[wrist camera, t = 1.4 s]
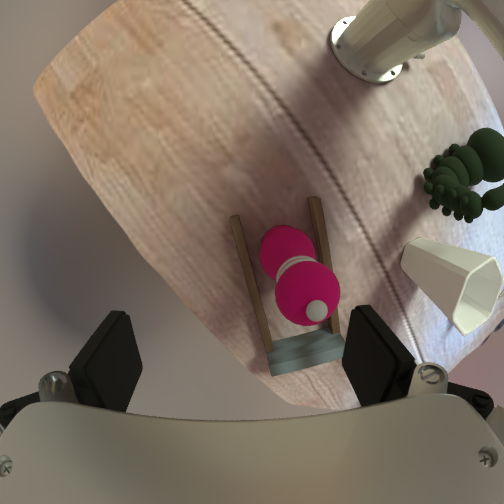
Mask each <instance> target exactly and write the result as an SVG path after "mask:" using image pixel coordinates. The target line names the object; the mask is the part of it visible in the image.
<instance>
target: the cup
mask: <svg viewBox="0 0 504 504" xmlns="http://www.w3.org/2000/svg"><path fill="white" fill-rule="evenodd" d="M400 264H401V268H402V270H403V271H404V272H405V273H406V274H407V275H408V276H409V277H410V278H411V279H412V280H413V281H414V282H415V283H416V284H417V285H418V286H419V288H420V289H421V290H422V291H423V292H424V293H425V294H426V295H427V296H428V297H429V298H430V299H431V300H432V301H433V302H434V303H435V305H436V306H437V307H438V308H439V309H440V310H441V311H442V312H443V313H444V315H445V316H446V317H447V318H448V319H449V320H450V321H451V323H452V324H453V325H454V326H455V327H456V328H457V330H458V331H459V332H460V333H461V334H462V335H463V336H464V335H468V334H469V333H471V332H472V331H473V330H475V329H476V328H477V327H479V326H480V325H481V324H482V323H484V322H485V321H486V320H487V319H488V318H489V317H490V316H491V314H492V312H493V309H494V307H495V304H496V302H497V299H498V296H499V294H500V291H501V288H502V285H503V275H502V273H501V270H500V267H499V265H498V262H497V260H496V258H495V257H492V256H489V255H486V254H482V253H479V252H475V251H471V250H468V249H464V248H461V247H457V246H453V245H449V244H446V243H442V242H438V241H434V240H430V239H426V238H422V237H420V238H417V239H415V240H413V241H411V242H409V243H408V244H407V245H406V246H405V248H404V252H403V256H402V259H401V263H400Z"/></svg>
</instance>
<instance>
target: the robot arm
mask: <svg viewBox="0 0 504 504" xmlns="http://www.w3.org/2000/svg"><path fill="white" fill-rule="evenodd" d="M462 10H463V11H464V12H465V13H466V14H467V15H468V16H469V17H470V18H471V19H472V20H473V21H474V22H475V23H476V25H477V26H478V27H479V28H480V29H481V31H482V32H483V33H484V34H485V36H486V37H487V38H488V39H489V41H490V42H491V43H492V45H493V46H494V47H495V49H496V50H497V52H498V53H499V54H500V56H501V57H502V58H503V60H504V0H370V1H369V2H368V3H367V4H366V5H365V6H364V7H363V9H362V10H361V11H360V12H359V13H358V14H357V15H356V16H355V17H347V18H344V19H342V20H340V21H339V22H337V23H336V24H335V26H334V27H333V29H332V31H331V35H330V42H331V47H332V50H333V52H334V54H335V56H336V57H337V59H338V60H339V62H340V63H341V64H342V65H343V66H344V67H345V68H346V69H347V70H348V71H350V72H351V73H352V74H354V75H355V76H357V77H359V78H361V79H363V80H365V81H369V82H372V83H385V82H388V81H391V80H392V79H394V78H396V77H397V76H398V75H399V73H400V71H401V69H402V65H403V62H405V61H407V60H409V59H411V58H416V59H424V57H425V54H424V51H426V50H428V49H430V48H432V47H434V46H436V45H438V44H440V43H443V42H444V41H447V40H449V39H450V38H452V37H453V36H454V35H455V34H456V33H457V31H458V30H459V27H460V24H461V17H462ZM414 361H415V358H414V357H413V356H412V355H411V353H410V352H409V351H408V350H407V348H406V347H405V346H404V345H403V344H402V342H401V341H400V340H399V339H398V337H397V336H396V335H395V334H394V333H393V332H392V330H391V329H390V328H389V327H388V326H387V324H386V323H385V322H384V321H383V320H382V319H381V317H380V316H379V315H378V314H377V313H376V312H375V310H374V309H373V308H372V307H371V306H370V305H359V306H356V307H355V309H353V310H352V311H351V315H350V321H349V327H348V332H347V337H346V342H345V347H344V352H343V357H342V366H343V368H344V370H345V372H346V374H347V377H348V379H349V381H350V383H351V385H352V387H353V389H354V391H355V393H356V396H357V398H358V400H359V402H360V404H361V406H362V407H359V408H354V409H348V410H343V411H337V412H331V413H325V414H317V415H310V416H301V417H291V418H279V419H264V420H240V421H239V420H235V421H233V420H230V421H227V420H223V421H220V420H192V419H177V418H164V417H156V416H147V415H140V414H133V413H126V410H127V407H128V405H129V402H130V399H131V397H132V395H133V392H134V390H135V387H136V384H137V382H138V380H139V377H140V375H141V372H142V361H141V358H140V354H139V351H138V347H137V344H136V340H135V336H134V332H133V328H132V324H131V320H130V317H129V315H126V313H125V312H124V311H111V312H110V313H109V314H108V316H107V317H106V318H105V320H104V321H103V322H102V323H101V324H100V326H99V327H98V328H97V330H96V331H95V332H94V334H93V335H92V336H91V337H90V339H89V340H88V341H87V343H86V344H85V346H84V347H83V348H82V349H81V351H80V352H79V353H78V355H77V356H76V358H75V359H74V360H73V362H72V363H71V365H70V366H69V368H70V371H69V372H68V374H67V373H66V372H63V371H52V372H50V373H47V374H46V375H44V376H43V377H42V378H41V379H40V381H39V384H38V389H39V391H38V392H35V393H32V394H30V395H27V396H24V397H21V398H19V399H15V400H12V401H9V402H7V403H5V404H3V405H2V406H1V408H0V504H504V408H503V407H501V406H499V405H497V407H496V408H495V407H494V403H493V400H492V398H491V397H490V396H489V394H487V393H485V392H483V391H481V390H477V389H473V388H469V387H465V386H462V385H458V384H455V383H451V382H448V373H447V371H446V370H445V369H444V368H443V367H442V366H440V365H438V364H435V363H431V362H425V363H421V364H419V365H417V364H416V363H415V362H414Z"/></svg>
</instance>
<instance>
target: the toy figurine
mask: <svg viewBox="0 0 504 504" xmlns="http://www.w3.org/2000/svg"><path fill="white" fill-rule="evenodd" d="M449 152H450V154H451V156H450V157H446V158H444V157H443V156H441V155H436V156H435V158H434V163H435V165H436V166H438V168H437V169H436V170H435V171H433V170H432V169H431V168H426V169H425V170H424V171H423V174H424V177H425V179H426V180H428V181H430V180H431V183H430V182H426V183H425V184H424V191H425V192H426V193H427V194H431V195H432V199H431V200H430V202H429V205H430V207H431V208H432V209H435V210H436V209H438V208H439V206H440V205H442V206H444V207H443V208H442V213H443V215H445V216H449V215H450V214H451V211H454V217H455V219H456V220H458V221H459V220H461V219H462V218H463V216H464V220H465V222H467V223H471V222H472V221H473V219H475V218H478V217H479V216H480V215H481V214H482V211H483V208H486V209H487V210H491V211H494V210H497V209H499V208H501V207H502V206H503V205H504V183H503V185H501V186H500V187H497V188H494V189H491V190H489V191H487V192H486V193H485V194H484V195H483V197H480V195H479V194H477V193H476V192H474V191H471V190H470V189H469V188H467V186H474V185H477V184H479V183H480V182H481V181H482V179H483V180H484V181H487V182H498V181H501V180H503V179H504V137H503V136H502V135H501V134H500V133H498V132H497V131H495V130H493V129H491V128H482V129H479V130H477V131H475V132H474V133H473V134H472V135H471V136H470V138H469V140H468V143H467V146H461V147H460V146H459V145H457V144H452V145H451V146H450V147H449Z"/></svg>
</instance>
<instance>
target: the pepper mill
mask: <svg viewBox="0 0 504 504" xmlns="http://www.w3.org/2000/svg"><path fill="white" fill-rule="evenodd" d="M315 257H316V256H315V249H314V246H313V244H312V242H311V240H310V238H309V237H308V236H307V235H306V234H305V233H304V232H302V231H300V230H298V229H295V228H293V227H291V226H287V225H280V226H276V227H273V228H272V229H270V230H269V231H268V232H267V233H266V234H265V236H264V238H263V240H262V243H261V249H260V262H261V265H262V267H263V269H264V271H265V272H266V274H267V275H268V276H269V277H271V278H272V279H274V280H275V281H276V284H277V285H276V289H275V297H276V303H277V306H278V308H279V310H280V311H281V313H282V314H283V315H284V316H285V317H286V318H287V319H288V320H290V321H291V322H293V323H295V324H298V325H303V326H311V325H316V324H319V323H321V322H323V321H325V320H326V319H327V318H329V317H330V316H331V315H332V314H333V312H334V311H335V309H336V307H337V305H338V303H339V299H340V286H339V282H338V280H337V278H336V276H335V274H334V273H333V272H332V271H331V270H330V269H329V268H328V267H327V266H325V265H323V264H321V263H320V262H317V261H316V260H315Z"/></svg>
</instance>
